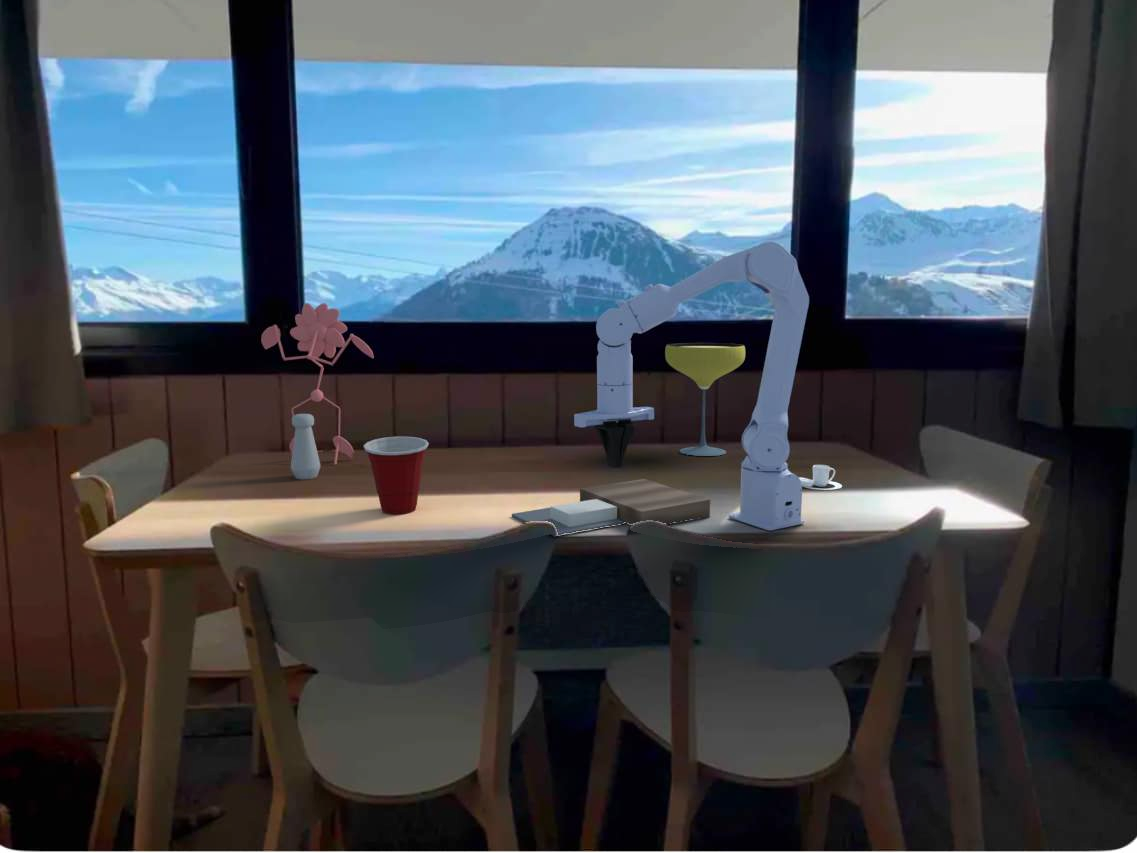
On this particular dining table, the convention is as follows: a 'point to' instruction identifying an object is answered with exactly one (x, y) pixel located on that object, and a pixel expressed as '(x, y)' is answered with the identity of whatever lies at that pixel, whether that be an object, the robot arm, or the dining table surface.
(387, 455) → the plastic cup
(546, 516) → the mat
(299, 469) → the salt shaker
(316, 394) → the figurine
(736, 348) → the cocktail glass
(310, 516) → the dining table surface
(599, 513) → the pale grey flat block
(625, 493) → the deck
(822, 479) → the teacup and saucer
